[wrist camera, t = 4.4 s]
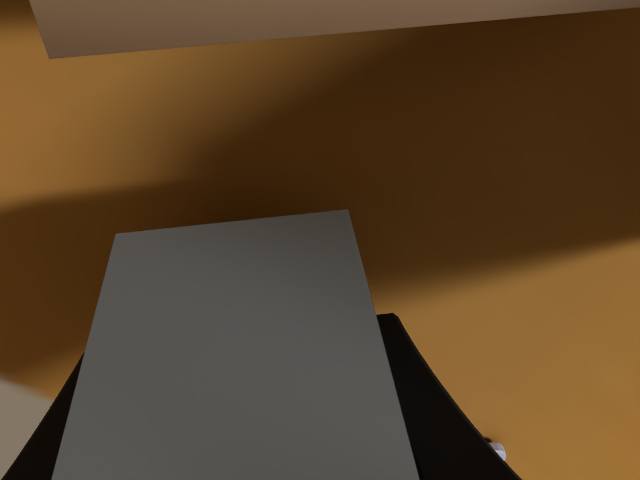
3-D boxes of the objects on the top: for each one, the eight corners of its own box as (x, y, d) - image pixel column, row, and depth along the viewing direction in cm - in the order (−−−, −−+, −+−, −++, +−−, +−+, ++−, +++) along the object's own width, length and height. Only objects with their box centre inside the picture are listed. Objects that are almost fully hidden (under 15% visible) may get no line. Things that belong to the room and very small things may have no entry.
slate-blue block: (351, 359, 14) (408, 642, 10) (165, 381, 14) (130, 684, 9) (348, 208, 11) (426, 506, 7) (115, 233, 11) (30, 560, 7)
